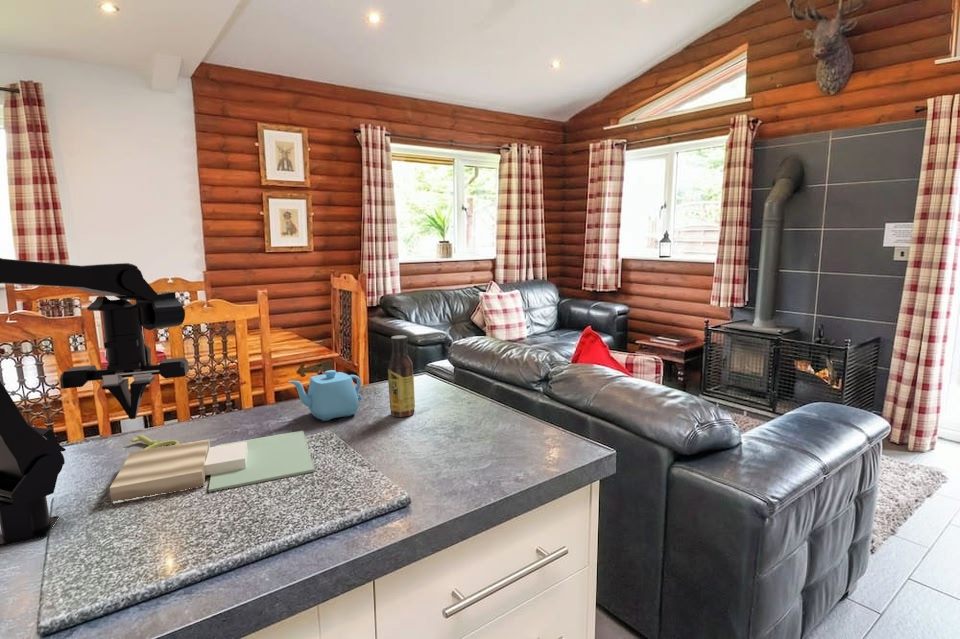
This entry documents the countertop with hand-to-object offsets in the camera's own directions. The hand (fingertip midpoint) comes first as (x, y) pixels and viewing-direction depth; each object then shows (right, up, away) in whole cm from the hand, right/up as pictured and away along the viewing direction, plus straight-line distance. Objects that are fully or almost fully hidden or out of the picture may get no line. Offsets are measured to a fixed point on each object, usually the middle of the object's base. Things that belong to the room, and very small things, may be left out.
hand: (133, 418), depth 96 cm
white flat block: (+13, -10, +9) cm, 19 cm away
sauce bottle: (+44, -6, +36) cm, 57 cm away
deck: (+3, -12, +5) cm, 13 cm away
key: (-9, -11, +21) cm, 25 cm away
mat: (+19, -10, +11) cm, 24 cm away
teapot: (+25, -7, +38) cm, 46 cm away
